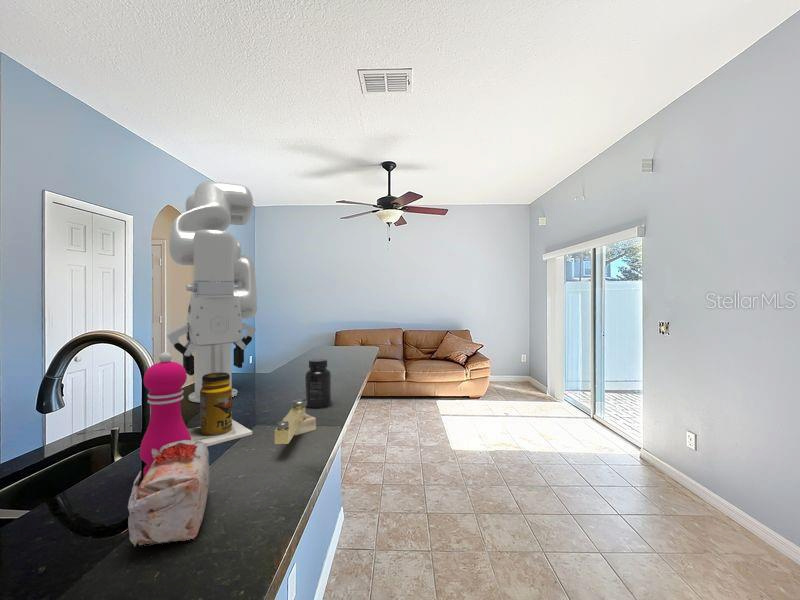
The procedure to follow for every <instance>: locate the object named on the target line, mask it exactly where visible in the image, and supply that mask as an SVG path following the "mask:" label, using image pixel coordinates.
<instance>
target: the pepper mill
mask: <svg viewBox="0 0 800 600" xmlns="http://www.w3.org/2000/svg"><path fill="white" fill-rule="evenodd" d="M172 359H173V356H172V354H171V353H170V352H166V351H165V352H161V353H160V354H159V356H158V360H159V362H156V363H154V364H152V365H150V366H149V367H148V368H147V369H146V371H145V373H144V375H143V385H144V387H145V389H147V390H148V392H149V393H148V394H147V398H148V399H147V403H148V404H149V405H150V419H149V421H148V425H147V429H146V431H145V433H144V435H143V437H142V439H141V443H140V447H139V457H140V460H141V461H142V462H144V463H145V464H146V465H145V466H144V467H143V478H144V477H145V476H146V474H147V472H148V470H149V468H150V467H151V465H152V463H153V461H154V459H155V458H153V457H154V456H153V454H152V449H156V450H157V451H160V448H161V447H162V446H164V445H166V444H169V443H173V442H177V441H182V440H191V436H190V433H189V431H188V429H189V428H188V427H187V426H186V424H185V421H184V418H183V416H182V411H181V410H182V409H181V401H182V400H183V399H184V398H185V397H184V394H183V393H184V390H183V389H182V387H183V386H184V385H185V384H186V382H187V377H188V374H187V373H186V370H185V368H184V367H183V364H181V363H178V362H176V361H171V360H172Z"/></svg>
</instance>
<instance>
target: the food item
mask: <svg viewBox="0 0 800 600" xmlns="http://www.w3.org/2000/svg"><path fill="white" fill-rule="evenodd" d="M152 454H153V456H154V457H153V458H155V459H154V461H153V463H152V465H151V467H150V468H149V470H148V472H147V474H146V476H145V477H144V476H143V479H142V480H141V481H140V479H141V477H142V476H141V475H142V474H141V473H142V470H140V471H139V472H138V474H137V476H136V477H135V479H134V481H133V486H132V488H131V493H130V496H129V499H128V505H127V509H128V513H129V515H128V519H127V520H128V521H127V524H128V525H127V526H128V532H129V533H128V534H129V536H128V537H129V541H130V543H131V544H133V546H134V547H136V546H137V544H138V545H139V546H140V545H143V544H145V543H146V544H149V543H157V542H158V543H161V542H168V541H180V540H181V542H186V540H187V541H191V540H190V539H193V540H195V539H196V538H197V536H198V534H199V530H200V527H201V526H202V522H203V519H204V515H205V512H206V511H205V509H206V506H207V498H208V491H209V487H210V463H209V462H210V455H209V454H210V452H209V449H208V446H207V443H204V442H202V441H197V440H182V441H177V442H173V443H169V444H166V445H164V446H162V447H161V448H160V451H157V450H156V449H152ZM139 482H140V484H139ZM195 537H196V538H195ZM194 538H195V539H194Z"/></svg>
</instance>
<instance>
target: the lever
mask: <svg viewBox="0 0 800 600" xmlns="http://www.w3.org/2000/svg"><path fill="white" fill-rule="evenodd" d="M291 407H292V408H291V409H290V410H289V412H288V413H287V414H286V415H285V417H283V419H282V421H278V422H276V428H275V429H274V445H287V444H288V445H289V443H290V442H291V440H292V439H293V438H294V436H295V435H294V434H295V432H296V431H297V429H298V427H299V426H300V424H301V423H302V421H303V419H304V418H305V414H306V407H307V400H305V398H298V399H293V400H292V401H291Z"/></svg>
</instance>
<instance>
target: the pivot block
mask: <svg viewBox="0 0 800 600" xmlns="http://www.w3.org/2000/svg"><path fill="white" fill-rule="evenodd" d="M316 430H317V418H316V417H315V416H313V415H310V414H308V413H305V418H304V419H303V421H302V423H301V424H300V426H299V427H298V429H297V431H296V432H295V434H294V435H293V436H299V435H302V434H306V433H309V432H312V431H316Z"/></svg>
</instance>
